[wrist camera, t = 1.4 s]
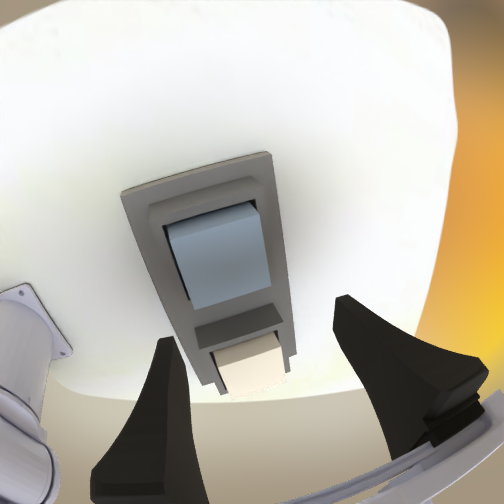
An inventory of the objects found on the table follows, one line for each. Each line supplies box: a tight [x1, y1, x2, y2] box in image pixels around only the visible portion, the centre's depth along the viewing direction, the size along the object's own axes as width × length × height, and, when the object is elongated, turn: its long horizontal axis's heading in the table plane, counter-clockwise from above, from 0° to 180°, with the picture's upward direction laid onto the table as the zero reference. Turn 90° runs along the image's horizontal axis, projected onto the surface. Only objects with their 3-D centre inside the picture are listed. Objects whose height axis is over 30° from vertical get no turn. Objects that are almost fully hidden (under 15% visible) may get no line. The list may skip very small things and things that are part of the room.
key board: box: [120, 152, 297, 395], centre depth 23 cm, size 10×20×4 cm, turn 11°
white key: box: [213, 331, 287, 400], centre depth 24 cm, size 5×5×2 cm
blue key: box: [168, 202, 271, 310], centre depth 19 cm, size 5×5×2 cm
